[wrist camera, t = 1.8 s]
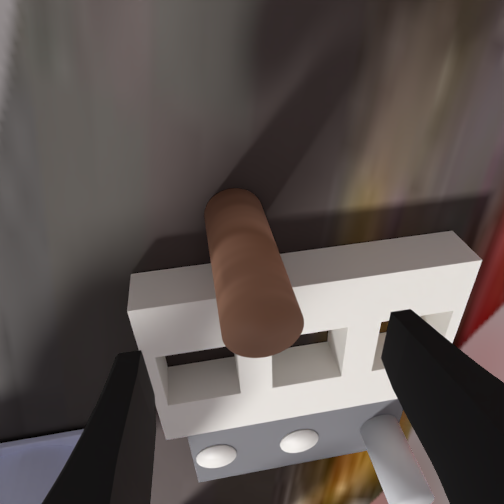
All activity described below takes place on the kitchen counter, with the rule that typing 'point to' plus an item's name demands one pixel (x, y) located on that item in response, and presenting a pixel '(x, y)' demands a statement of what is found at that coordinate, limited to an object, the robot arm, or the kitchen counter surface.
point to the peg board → (315, 320)
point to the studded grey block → (318, 447)
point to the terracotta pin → (249, 277)
